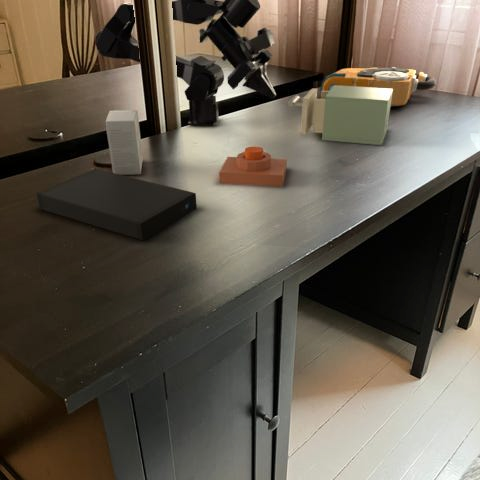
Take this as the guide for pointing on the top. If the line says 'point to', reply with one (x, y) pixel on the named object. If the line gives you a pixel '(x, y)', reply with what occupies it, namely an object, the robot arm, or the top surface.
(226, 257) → the top surface
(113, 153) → the small box
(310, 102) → the drawer
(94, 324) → the top surface
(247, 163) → the block
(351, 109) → the sage green box
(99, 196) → the external hard drive
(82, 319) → the top surface
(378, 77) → the device
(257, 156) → the button
